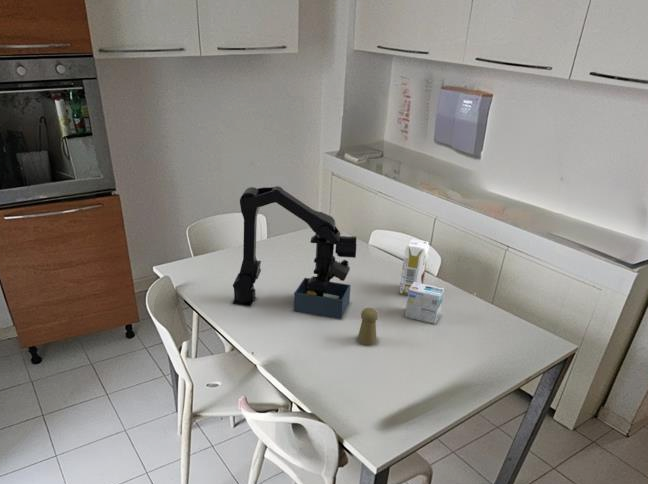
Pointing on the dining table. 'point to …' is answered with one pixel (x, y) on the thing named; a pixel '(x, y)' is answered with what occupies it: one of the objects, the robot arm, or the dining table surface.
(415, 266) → the juice carton
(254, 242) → the robot arm
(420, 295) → the light bulb box
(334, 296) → the medication box
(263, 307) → the dining table surface
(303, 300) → the dark blue open bin
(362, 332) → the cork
